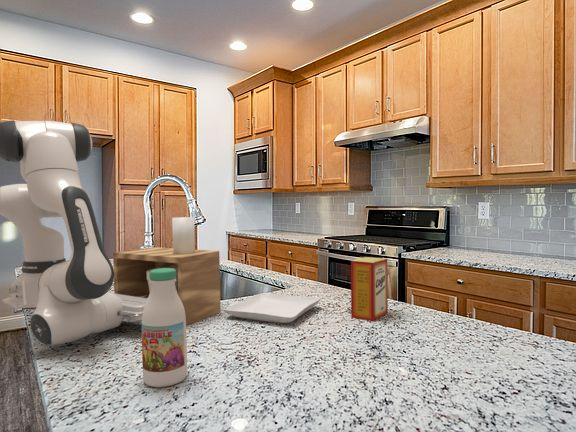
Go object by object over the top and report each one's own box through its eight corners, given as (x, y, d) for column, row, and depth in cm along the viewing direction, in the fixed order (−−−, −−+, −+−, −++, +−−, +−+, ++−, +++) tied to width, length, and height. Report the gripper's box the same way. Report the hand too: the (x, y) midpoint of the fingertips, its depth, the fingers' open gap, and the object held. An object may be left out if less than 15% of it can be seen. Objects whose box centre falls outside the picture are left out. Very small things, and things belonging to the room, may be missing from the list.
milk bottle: (149, 370, 75) (146, 266, 74) (190, 368, 75) (188, 265, 75) (137, 389, 67) (134, 274, 66) (183, 387, 68) (180, 272, 67)
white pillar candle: (168, 253, 108) (167, 217, 108) (183, 251, 114) (183, 217, 113) (184, 254, 106) (183, 218, 105) (199, 252, 111) (198, 217, 110)
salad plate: (222, 320, 107) (222, 308, 107) (260, 302, 126) (260, 291, 126) (292, 330, 98) (292, 316, 98) (322, 309, 117) (321, 297, 117)
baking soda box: (366, 309, 114) (366, 255, 114) (387, 313, 111) (387, 257, 110) (351, 317, 107) (350, 259, 106) (373, 321, 103) (373, 261, 102)
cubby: (115, 313, 114) (113, 252, 113) (155, 302, 127) (153, 247, 126) (183, 327, 101) (181, 257, 100) (220, 312, 114) (219, 251, 113)
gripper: (134, 303, 91) (177, 291, 103) (80, 294, 101) (126, 284, 113) (134, 330, 91) (178, 315, 103) (81, 318, 101) (127, 306, 113)
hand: (150, 299), depth 108 cm, fingers closed, pressing on foam cup
